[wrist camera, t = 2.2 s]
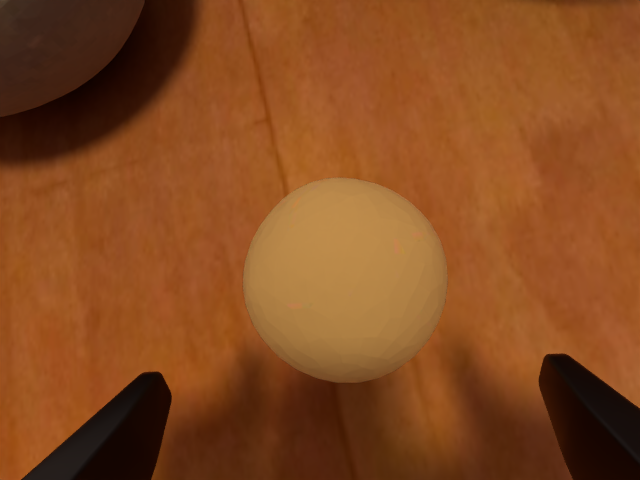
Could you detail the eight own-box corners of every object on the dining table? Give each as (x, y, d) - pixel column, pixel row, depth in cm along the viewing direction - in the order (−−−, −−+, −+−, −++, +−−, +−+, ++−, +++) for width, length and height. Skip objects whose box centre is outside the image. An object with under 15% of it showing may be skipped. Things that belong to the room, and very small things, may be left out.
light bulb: (442, 272, 19) (514, 207, 9) (381, 391, 18) (391, 455, 8) (329, 215, 20) (291, 107, 11) (267, 322, 19) (165, 309, 10)
